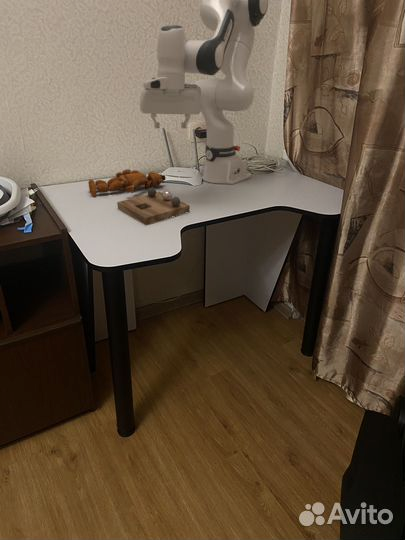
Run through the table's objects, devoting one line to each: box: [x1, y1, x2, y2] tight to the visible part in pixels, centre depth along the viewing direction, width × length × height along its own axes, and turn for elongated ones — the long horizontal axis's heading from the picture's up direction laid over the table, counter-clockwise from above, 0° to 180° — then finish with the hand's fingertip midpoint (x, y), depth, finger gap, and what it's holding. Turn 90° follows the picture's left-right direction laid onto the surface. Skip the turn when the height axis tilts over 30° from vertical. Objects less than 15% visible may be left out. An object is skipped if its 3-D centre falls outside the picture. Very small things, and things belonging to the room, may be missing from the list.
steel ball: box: [161, 190, 173, 200], centre depth 140 cm, size 4×4×4 cm
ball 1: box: [147, 187, 157, 196], centre depth 143 cm, size 3×3×3 cm
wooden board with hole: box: [116, 191, 190, 226], centre depth 138 cm, size 18×18×2 cm
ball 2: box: [171, 196, 182, 206], centre depth 135 cm, size 3×3×3 cm
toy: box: [88, 169, 166, 198], centre depth 156 cm, size 20×7×30 cm
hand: (170, 128), depth 134 cm, fingers open, 8 cm apart
